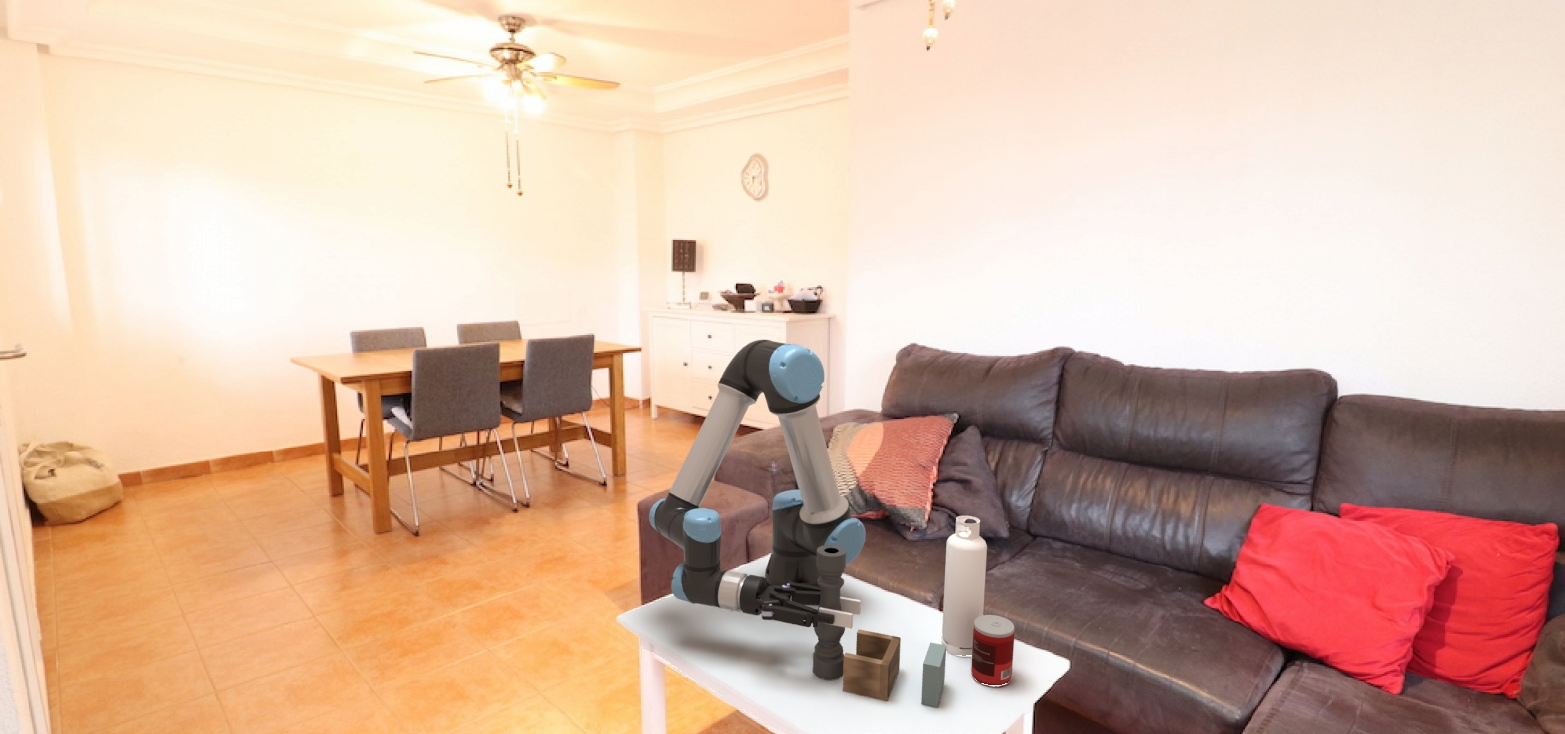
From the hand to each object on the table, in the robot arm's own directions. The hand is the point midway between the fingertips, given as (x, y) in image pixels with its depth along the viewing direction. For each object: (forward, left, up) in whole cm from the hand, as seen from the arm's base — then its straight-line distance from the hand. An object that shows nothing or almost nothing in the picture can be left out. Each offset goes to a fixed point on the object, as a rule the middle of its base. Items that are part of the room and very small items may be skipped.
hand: (856, 614), depth 141 cm
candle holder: (+1, -5, -13) cm, 14 cm away
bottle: (-23, +12, -13) cm, 29 cm away
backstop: (-4, +15, -13) cm, 20 cm away
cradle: (-1, +3, -13) cm, 13 cm away
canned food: (-16, +21, -13) cm, 30 cm away
